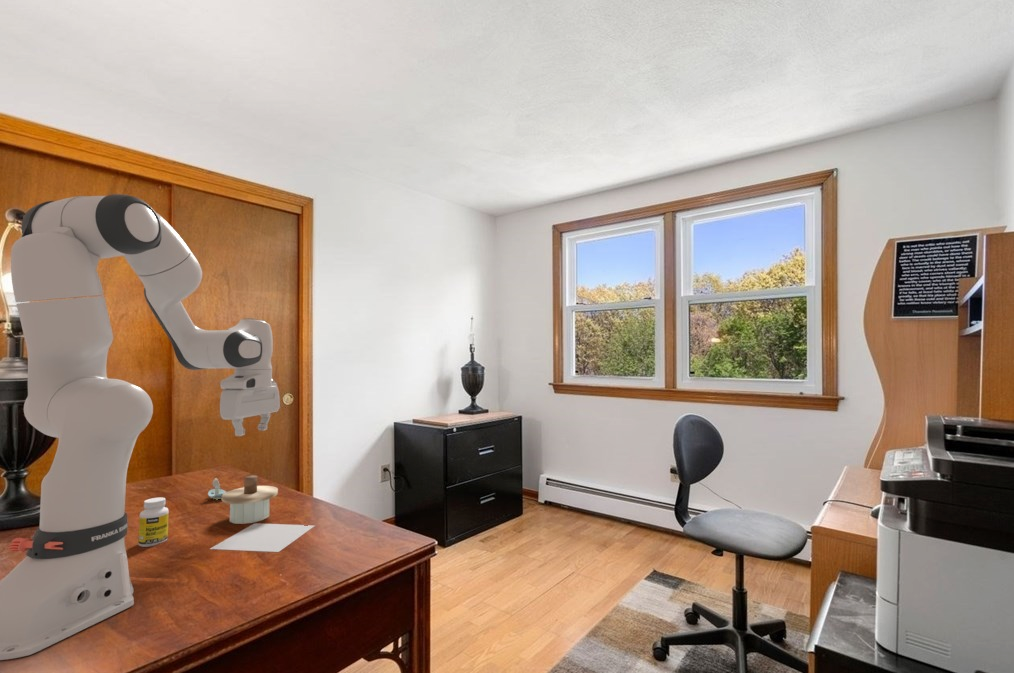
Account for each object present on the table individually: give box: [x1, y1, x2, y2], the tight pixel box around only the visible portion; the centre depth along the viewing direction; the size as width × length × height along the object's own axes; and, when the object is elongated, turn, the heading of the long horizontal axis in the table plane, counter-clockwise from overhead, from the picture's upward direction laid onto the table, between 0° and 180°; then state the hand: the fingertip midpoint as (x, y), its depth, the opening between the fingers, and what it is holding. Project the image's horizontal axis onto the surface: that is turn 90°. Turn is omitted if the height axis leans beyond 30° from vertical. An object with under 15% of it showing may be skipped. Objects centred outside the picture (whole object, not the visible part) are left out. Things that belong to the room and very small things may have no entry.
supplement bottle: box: [137, 496, 170, 548], centre depth 109 cm, size 5×5×10 cm
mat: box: [209, 522, 315, 553], centre depth 111 cm, size 16×16×1 cm
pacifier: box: [207, 477, 227, 501], centre depth 143 cm, size 7×6×6 cm
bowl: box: [229, 498, 271, 525], centre depth 124 cm, size 9×9×6 cm
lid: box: [221, 475, 279, 505], centre depth 125 cm, size 13×13×5 cm
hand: (251, 432), depth 125 cm, fingers open, 8 cm apart
